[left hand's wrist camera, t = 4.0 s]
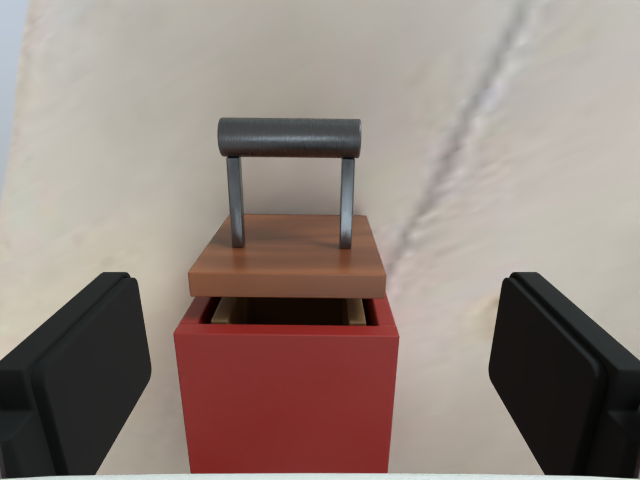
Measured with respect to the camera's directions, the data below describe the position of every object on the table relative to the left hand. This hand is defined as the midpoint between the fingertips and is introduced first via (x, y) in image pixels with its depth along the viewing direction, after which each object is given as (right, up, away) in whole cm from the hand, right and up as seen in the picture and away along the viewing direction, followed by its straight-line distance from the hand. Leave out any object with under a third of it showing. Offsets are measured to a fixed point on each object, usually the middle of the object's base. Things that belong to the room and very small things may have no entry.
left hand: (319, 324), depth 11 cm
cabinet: (-2, -6, +21) cm, 22 cm away
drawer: (-1, -1, +18) cm, 18 cm away
